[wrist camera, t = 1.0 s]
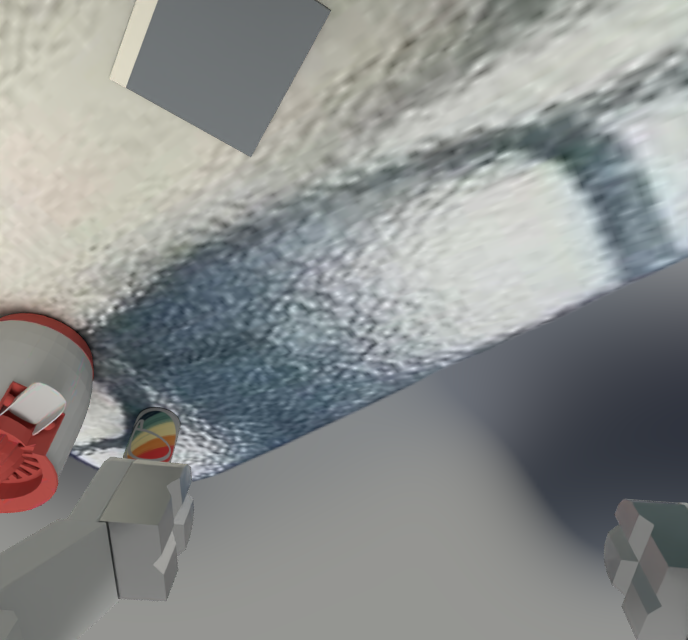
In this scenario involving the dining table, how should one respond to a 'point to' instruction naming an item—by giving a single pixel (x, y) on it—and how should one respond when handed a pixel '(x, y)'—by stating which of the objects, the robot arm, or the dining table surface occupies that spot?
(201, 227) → the dining table surface
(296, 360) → the dining table surface
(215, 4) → the mat
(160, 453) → the lotion bottle
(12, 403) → the citrus juicer
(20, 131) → the dining table surface
